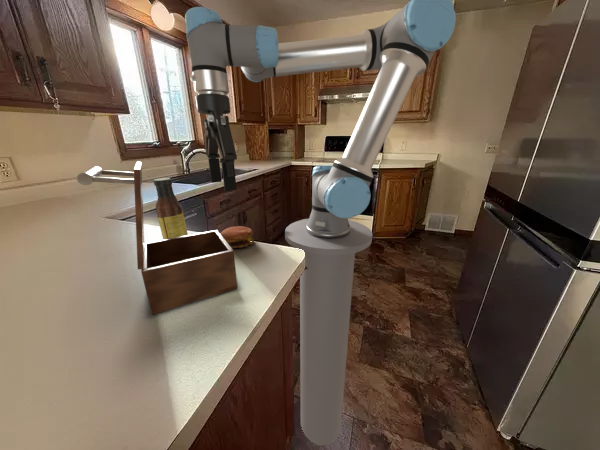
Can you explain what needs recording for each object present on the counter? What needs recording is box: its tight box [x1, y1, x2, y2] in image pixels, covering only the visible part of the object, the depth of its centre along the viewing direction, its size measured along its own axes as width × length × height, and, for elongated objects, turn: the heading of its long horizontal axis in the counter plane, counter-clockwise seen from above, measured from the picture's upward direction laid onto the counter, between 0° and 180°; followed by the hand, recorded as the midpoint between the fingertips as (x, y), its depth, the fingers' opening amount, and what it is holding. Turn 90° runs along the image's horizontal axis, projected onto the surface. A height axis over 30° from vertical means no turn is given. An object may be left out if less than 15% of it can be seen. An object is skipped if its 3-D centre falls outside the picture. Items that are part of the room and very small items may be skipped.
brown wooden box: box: [140, 229, 239, 315], centre depth 51 cm, size 16×14×9 cm
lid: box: [76, 161, 145, 270], centre depth 42 cm, size 16×14×8 cm
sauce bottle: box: [153, 177, 189, 240], centre depth 66 cm, size 6×6×20 cm
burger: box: [220, 225, 254, 249], centre depth 72 cm, size 10×9×5 cm
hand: (223, 186), depth 64 cm, fingers open, 13 cm apart
